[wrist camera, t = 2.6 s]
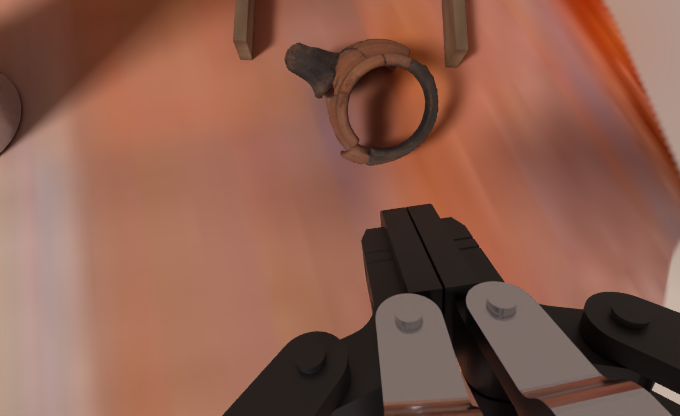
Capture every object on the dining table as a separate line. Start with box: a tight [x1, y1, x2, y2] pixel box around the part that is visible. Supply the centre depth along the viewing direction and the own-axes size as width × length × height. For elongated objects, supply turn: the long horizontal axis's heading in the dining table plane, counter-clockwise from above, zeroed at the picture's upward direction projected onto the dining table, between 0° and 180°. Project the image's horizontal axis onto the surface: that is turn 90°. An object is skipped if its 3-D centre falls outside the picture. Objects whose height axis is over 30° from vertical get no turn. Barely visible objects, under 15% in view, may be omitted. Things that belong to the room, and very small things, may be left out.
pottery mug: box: [285, 39, 438, 165], centre depth 27 cm, size 12×10×8 cm
